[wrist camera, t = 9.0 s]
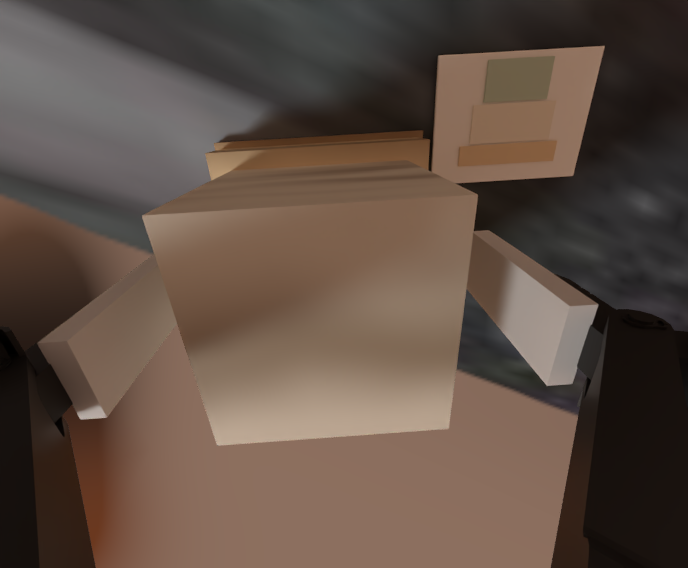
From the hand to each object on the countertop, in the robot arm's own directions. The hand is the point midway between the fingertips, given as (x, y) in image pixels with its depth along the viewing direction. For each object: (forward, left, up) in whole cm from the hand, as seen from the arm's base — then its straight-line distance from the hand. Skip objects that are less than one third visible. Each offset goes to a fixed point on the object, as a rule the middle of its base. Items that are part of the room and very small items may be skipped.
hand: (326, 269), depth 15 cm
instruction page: (-5, +10, -5) cm, 13 cm away
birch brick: (0, 0, -2) cm, 2 cm away
